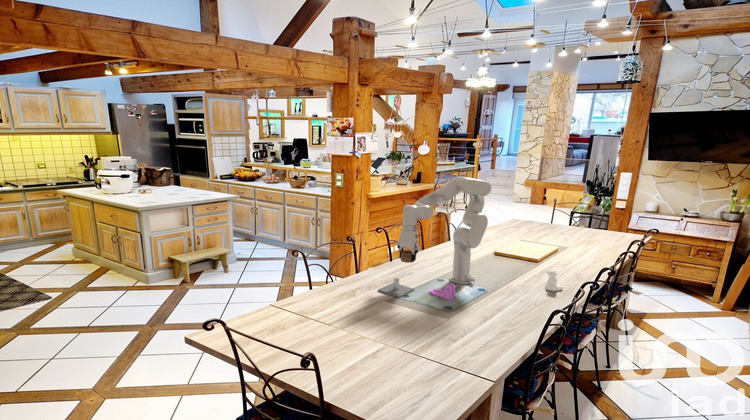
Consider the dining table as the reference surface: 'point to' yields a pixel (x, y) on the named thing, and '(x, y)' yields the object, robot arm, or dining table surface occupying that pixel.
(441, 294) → the bracket
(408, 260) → the collar
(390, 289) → the post
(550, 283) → the seated beast figurine
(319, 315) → the dining table surface
